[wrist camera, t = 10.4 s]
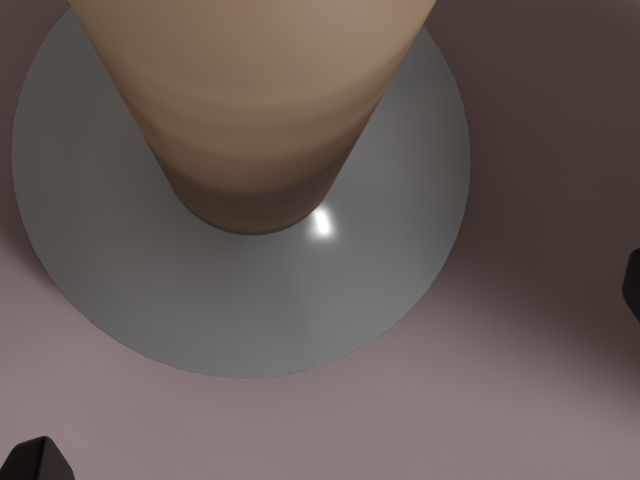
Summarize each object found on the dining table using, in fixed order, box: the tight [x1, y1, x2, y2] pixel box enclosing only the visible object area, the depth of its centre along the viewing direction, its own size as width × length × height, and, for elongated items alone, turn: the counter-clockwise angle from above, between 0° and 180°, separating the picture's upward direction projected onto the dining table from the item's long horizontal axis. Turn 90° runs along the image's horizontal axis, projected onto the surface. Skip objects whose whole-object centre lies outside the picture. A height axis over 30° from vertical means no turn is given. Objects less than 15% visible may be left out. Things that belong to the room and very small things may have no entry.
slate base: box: [11, 6, 471, 378], centre depth 18 cm, size 13×13×2 cm
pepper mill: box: [68, 0, 437, 236], centre depth 11 cm, size 5×5×12 cm
